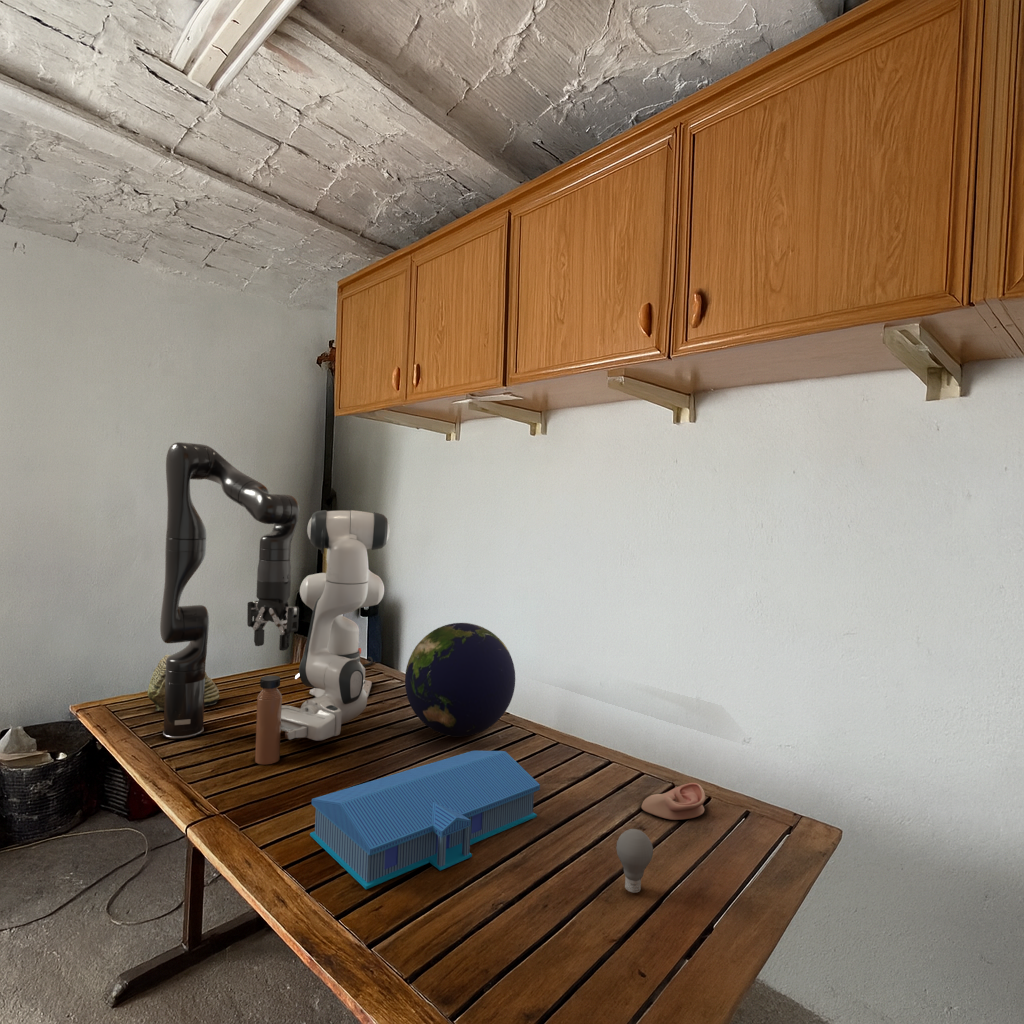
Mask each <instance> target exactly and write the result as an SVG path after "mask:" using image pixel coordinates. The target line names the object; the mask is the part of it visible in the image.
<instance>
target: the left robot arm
mask: <svg viewBox="0 0 1024 1024" xmlns="http://www.w3.org/2000/svg"><path fill="white" fill-rule="evenodd" d="M165 478H166V479H165V480H166V493H167V512H166V513H167V515H166V516H167V517H166V518H167V519H166V533H165V534H166V535H165V549H164V550H165V557H164V558H165V561H164V562H165V565H164V566H165V567H164V588H163V593H162V594H163V595H162V602H161V603H162V604H161V613H160V621H159V632H160V638H161V640H162V641H163V642H164V644H178V643H188V645H186V646H184V648H182V649H180V650H179V651H177V652H175V653H173V654H170V655H171V656H169V657H168V658H167V660H166V674H165V705H164V710H163V731H162V737H164V738H166V739H169V740H185V739H190V738H191V739H192V738H194V737H197V736H199V735H202V734H203V732H204V730H205V729H204V722H205V721H204V718H205V706H204V693H205V672H206V664H207V663H206V660H207V653H208V639H209V630H210V615H209V610H208V609H207V607H206V606H205V605H203V604H198V605H197V604H195V605H193V604H192V605H181V606H180V601H181V598H182V594H183V591H184V589H185V587H186V586H187V584H188V582H189V581H190V579H191V578H192V577H193V575H194V574H196V572H197V570H198V569H199V567H200V566H201V565H202V563H203V561H204V560H205V557H206V551H207V529H206V526H205V524H204V521H203V520H202V518H201V516H200V514H199V512H198V511H197V510H196V507H195V505H194V503H193V500H192V496H191V480H197V481H202V480H208V481H211V482H213V483H216V484H218V485H220V487H221V490H222V492H223V494H224V495H225V496H226V497H227V498H228V499H230V501H232V502H234V503H236V504H238V505H239V506H241V507H243V508H244V509H245V510H246V511H247V512H248V513H249V515H250V516H251V517H252V518H253V519H254V520H255V521H257V522H259V523H261V524H265V525H273V528H272V529H271V532H269V533H266V534H264V535H262V536H261V537H260V539H259V545H258V547H259V549H258V551H259V553H258V563H257V571H256V595H255V596H256V599H258V600H253V601H252V600H251V601H248V602H247V609H246V610H247V611H246V612H247V617H246V618H247V619H246V622H247V626H248V628H252V630H253V631H254V632H253V642H254V643H253V644H254V646H255V647H261V646H264V644H265V627H266V625H267V623H269V622H271V623H274V625H275V627H277V628H278V631H279V633H280V634H279V643H278V645H279V647H278V649H279V651H287V650H288V649H289V648H290V645H291V642H290V641H291V634H292V633H295V632H298V630H299V619H300V618H299V616H300V607H299V606H298V605H297V606H296V605H295V606H290V604H289V599H290V597H291V587H292V586H291V584H292V579H291V578H292V564H291V563H292V561H291V554H292V553H291V552H292V542H293V539H294V535H295V531H296V528H297V525H298V522H299V518H300V505H299V502H298V501H297V499H296V497H294V496H292V495H290V494H277V493H276V494H274V493H270V492H269V489H268V488H267V487H266V486H265V485H264V484H263V483H261V482H260V481H258V480H256V479H255V478H253V477H251V476H249V475H247V474H246V473H244V472H242V471H240V470H239V469H237V468H236V467H235V466H234V465H233V464H231V463H230V462H229V461H228V460H226V458H224V457H223V456H222V455H221V454H220V453H219V452H217V451H216V450H215V449H214V448H212V447H211V446H209V445H207V444H202V443H192V442H182V441H181V442H180V441H178V442H174V443H172V444H171V445H170V446H169V448H168V450H167V452H166V457H165Z"/></svg>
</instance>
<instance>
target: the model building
mask: <svg viewBox="0 0 1024 1024" xmlns="http://www.w3.org/2000/svg"><path fill="white" fill-rule="evenodd" d="M538 791H541V784H540V783H539V782H538V781H537V780H536V779H535V778H534V777H533V776H532V775H531V774H530V773H529V772H527V771H526V769H524V768H523V766H521V764H519V762H517V761H516V760H515V759H514V757H512V756H511V755H510V754H509V753H508V752H507V750H471V751H467V752H464V753H460V754H457V755H454V756H449V757H447V758H444V759H441V760H437V761H434V762H431V763H427V764H423V765H420V766H417V767H414V768H410V769H407V770H403V771H400V772H397V773H394V774H390V775H387V776H384V777H381V778H380V777H379V778H377V779H374V780H371V781H366V782H364V783H360V784H357V785H354V786H350V787H347V788H344V789H339V790H337V791H334V792H330V793H327V794H324V795H319V796H316V797H314V798H311V806H313V807H314V808H315V817H314V831H311V832H310V833H309V836H310V838H312V839H313V840H314V841H315V842H316V843H317V845H319V846H320V847H321V848H322V849H323V850H325V852H326V853H327V854H329V856H330V857H331V858H333V859H334V860H335V861H336V862H337V863H338V864H339V865H340V866H341V867H342V868H343V869H344V870H345V871H346V872H347V874H349V875H350V876H351V877H352V878H353V879H354V880H355V881H356V882H357V883H359V885H361V886H362V887H363V888H364V890H369V889H371V888H373V887H375V886H378V885H381V884H382V883H385V882H388V881H389V880H392V879H394V878H397V877H399V876H402V875H404V874H406V873H408V872H410V871H413V870H416V869H417V868H420V867H423V866H424V865H427V864H429V863H430V864H431V865H432V866H433V867H434V868H436V869H437V870H438V871H440V872H441V871H443V870H445V869H448V868H450V867H452V866H455V865H457V864H459V863H461V862H463V861H465V860H468V859H471V858H473V853H471V852H470V851H471V846H472V845H474V844H476V843H478V842H482V841H484V840H486V839H488V838H490V837H493V836H495V835H497V834H499V833H502V832H505V831H506V830H507V831H508V830H510V829H512V828H513V827H516V826H519V825H520V824H523V823H525V822H527V821H530V820H532V819H535V818H537V817H538V814H537V813H535V812H534V798H535V797H534V796H535V792H538Z"/></svg>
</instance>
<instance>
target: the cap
mask: <svg viewBox="0 0 1024 1024" xmlns="http://www.w3.org/2000/svg"><path fill="white" fill-rule="evenodd" d="M280 686H281V676H279V675H264V676H262V677H260V680H259V687H260V688H262V689H263V688H265V689H271V688H277V689H278V688H279V687H280Z"/></svg>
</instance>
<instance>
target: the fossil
mask: <svg viewBox="0 0 1024 1024" xmlns="http://www.w3.org/2000/svg"><path fill="white" fill-rule="evenodd" d="M171 655H172V654H165V655H164V656H163V657H162V658H161V659H160V660H159V662H158V663H157V666H156V667H155V669H154V670H153V672H152V675H151V677H150V680H149V684H148V688H147V697H148V699H149V700H150V701H152V703H153V704H154V706H155V711H158V712H159V711H162V712H163V711H164V705H165V674H166V660H167V658H168V657H169V656H171ZM220 698H221V696H220V690H219V688H218V686H217V685H216V683H215V682H214V681H213V679H212V678H211V677H209V675H208V674H207V672H206V671H205V693H204V707H207V706H213V705H215V704H217V703H218V701H219V699H220Z"/></svg>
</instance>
